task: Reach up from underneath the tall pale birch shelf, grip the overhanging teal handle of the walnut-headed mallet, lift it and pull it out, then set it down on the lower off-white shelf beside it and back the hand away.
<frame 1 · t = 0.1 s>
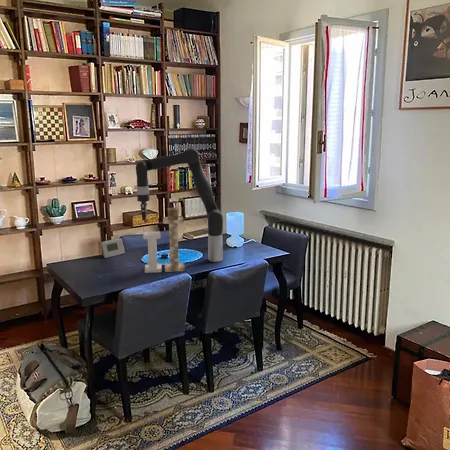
hand: (144, 218, 292), 29 cm above the table, tool pointing down, fingers open, 8 cm apart
digital clock: (113, 255, 315), on the table
tall shelf: (174, 268, 286), on the table
mallet: (172, 216, 285), point 32 cm above the table, touching tall shelf
low shelf: (153, 269, 285), on the table
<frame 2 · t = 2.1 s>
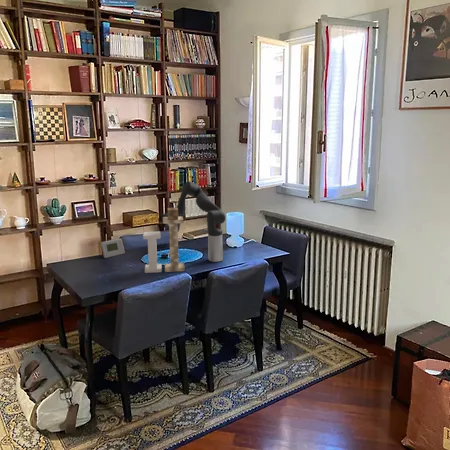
hand: (172, 213, 305), 30 cm above the table, tool pointing upward, fingers open, 8 cm apart
nothing on the table moved.
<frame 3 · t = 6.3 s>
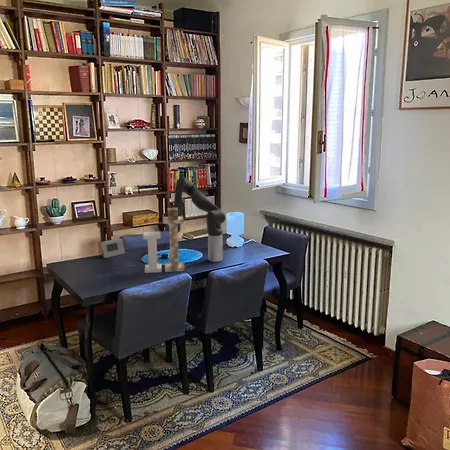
hand: (172, 211, 286), 35 cm above the table, tool pointing upward, fingers closed on mallet, 2 cm apart
mallet: (172, 216, 285), point 32 cm above the table, touching gripper, tall shelf
everything else where it was.
when the fingers open (27 cm above the table, at t = 15.3 s): mallet drops 1 cm, point 23 cm above the table.
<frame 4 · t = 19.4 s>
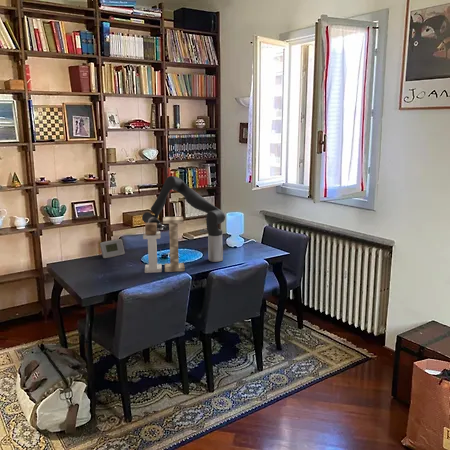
hand: (159, 228, 296), 22 cm above the table, tool horizontal, fingers open, 8 cm apart
mallet: (152, 231, 285), point 23 cm above the table, touching gripper
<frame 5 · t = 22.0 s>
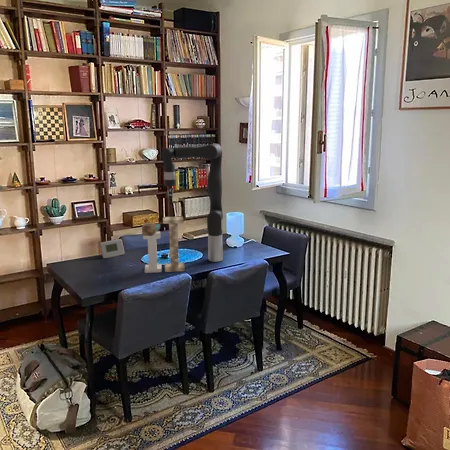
hand: (170, 202, 308), 36 cm above the table, tool pointing down, fingers open, 8 cm apart
mallet: (152, 231, 284), point 23 cm above the table, touching low shelf
at the end: mallet inside the target area (1.2 cm from its centre), point 23.0 cm above the table; mallet tilted 0°; the gripper is holding nothing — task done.
